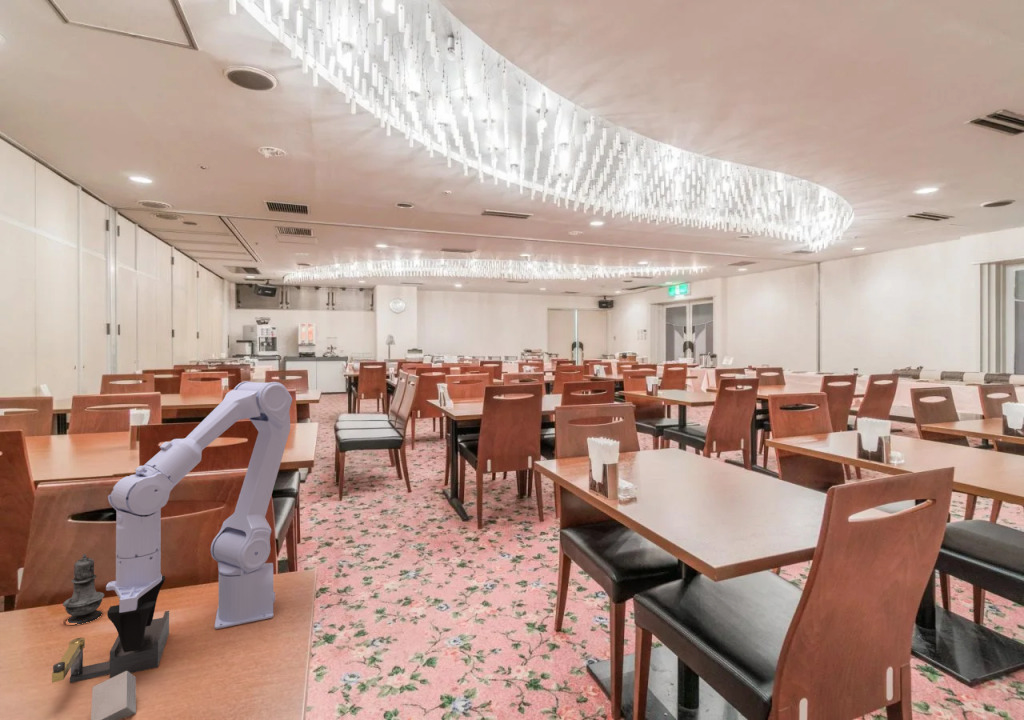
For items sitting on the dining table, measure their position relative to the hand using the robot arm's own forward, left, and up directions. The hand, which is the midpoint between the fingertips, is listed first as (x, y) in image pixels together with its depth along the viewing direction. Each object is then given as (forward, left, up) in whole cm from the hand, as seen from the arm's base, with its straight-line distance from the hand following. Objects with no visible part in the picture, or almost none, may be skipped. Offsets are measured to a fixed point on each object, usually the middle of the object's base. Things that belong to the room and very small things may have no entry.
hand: (138, 637), depth 80 cm
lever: (+7, +4, 0) cm, 9 cm away
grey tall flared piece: (+12, -22, -4) cm, 25 cm away
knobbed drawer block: (+1, +14, -1) cm, 14 cm away
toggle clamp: (+3, -3, -4) cm, 5 cm away
